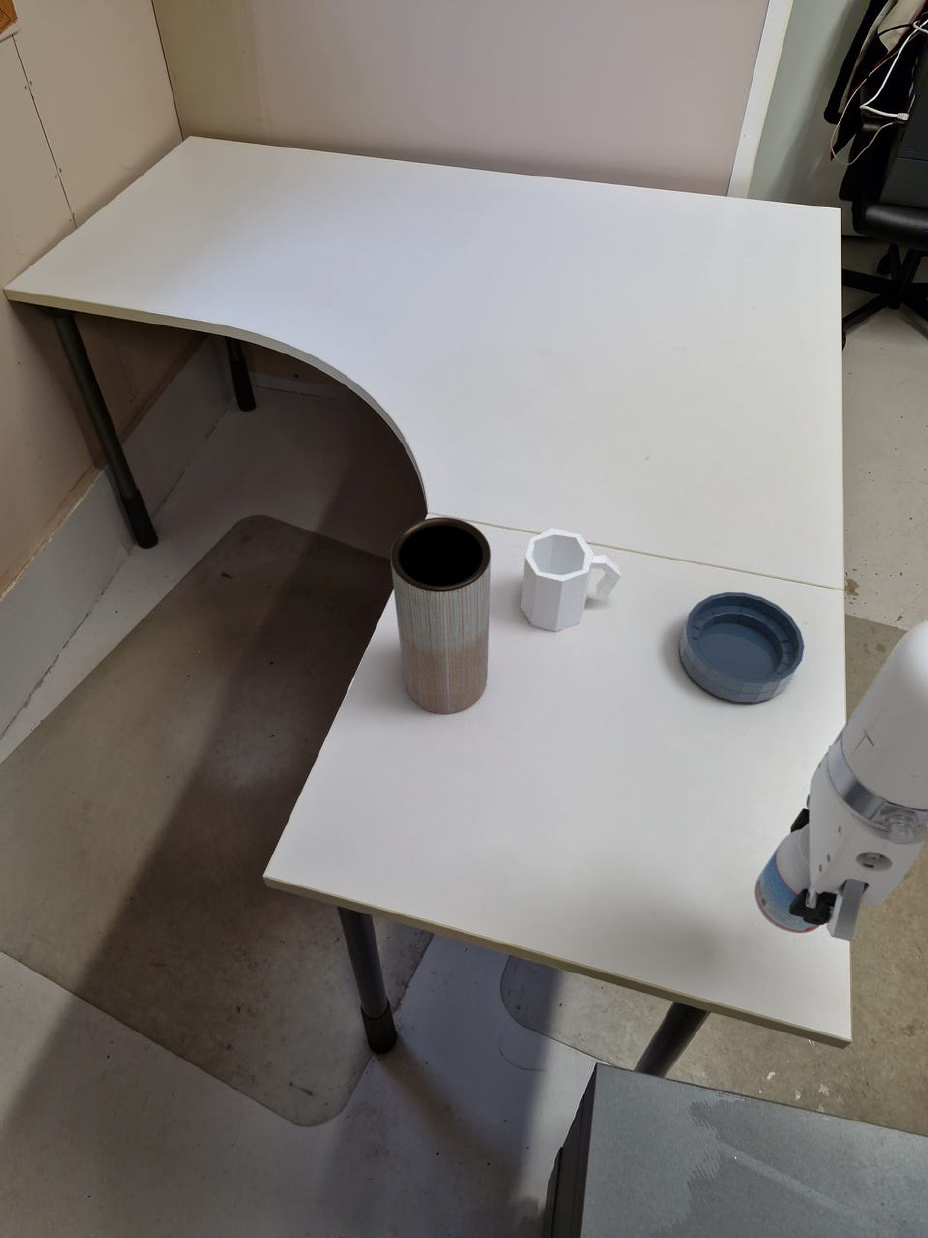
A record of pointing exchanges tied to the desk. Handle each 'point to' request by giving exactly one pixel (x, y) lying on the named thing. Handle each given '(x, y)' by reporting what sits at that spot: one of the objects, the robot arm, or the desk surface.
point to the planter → (443, 611)
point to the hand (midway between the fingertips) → (809, 873)
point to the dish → (741, 647)
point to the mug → (561, 579)
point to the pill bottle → (786, 882)
